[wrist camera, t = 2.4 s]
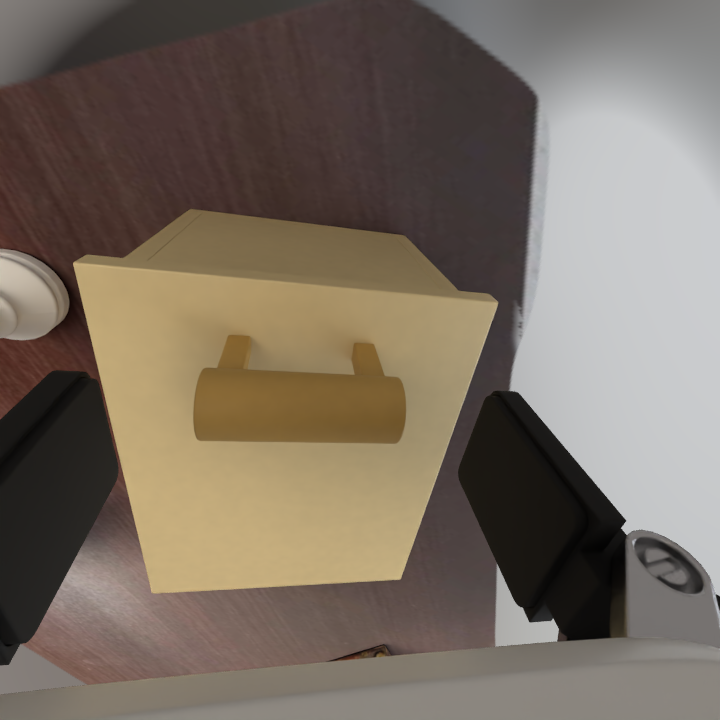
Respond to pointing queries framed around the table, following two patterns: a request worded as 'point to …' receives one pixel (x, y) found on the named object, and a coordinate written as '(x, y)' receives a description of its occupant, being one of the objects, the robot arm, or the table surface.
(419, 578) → the table surface
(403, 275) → the light wooden open box
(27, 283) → the chess pawn
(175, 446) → the lid
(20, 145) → the table surface
